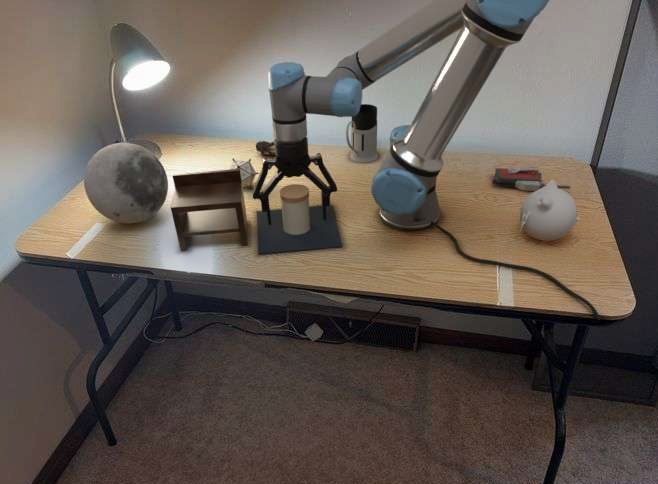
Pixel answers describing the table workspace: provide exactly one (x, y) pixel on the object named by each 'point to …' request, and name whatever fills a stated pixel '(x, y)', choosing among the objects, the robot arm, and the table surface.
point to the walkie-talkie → (520, 178)
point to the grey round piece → (548, 213)
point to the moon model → (126, 183)
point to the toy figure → (265, 148)
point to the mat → (316, 238)
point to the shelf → (209, 205)
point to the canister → (295, 209)
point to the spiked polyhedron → (245, 172)
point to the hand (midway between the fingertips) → (297, 219)
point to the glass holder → (363, 134)
